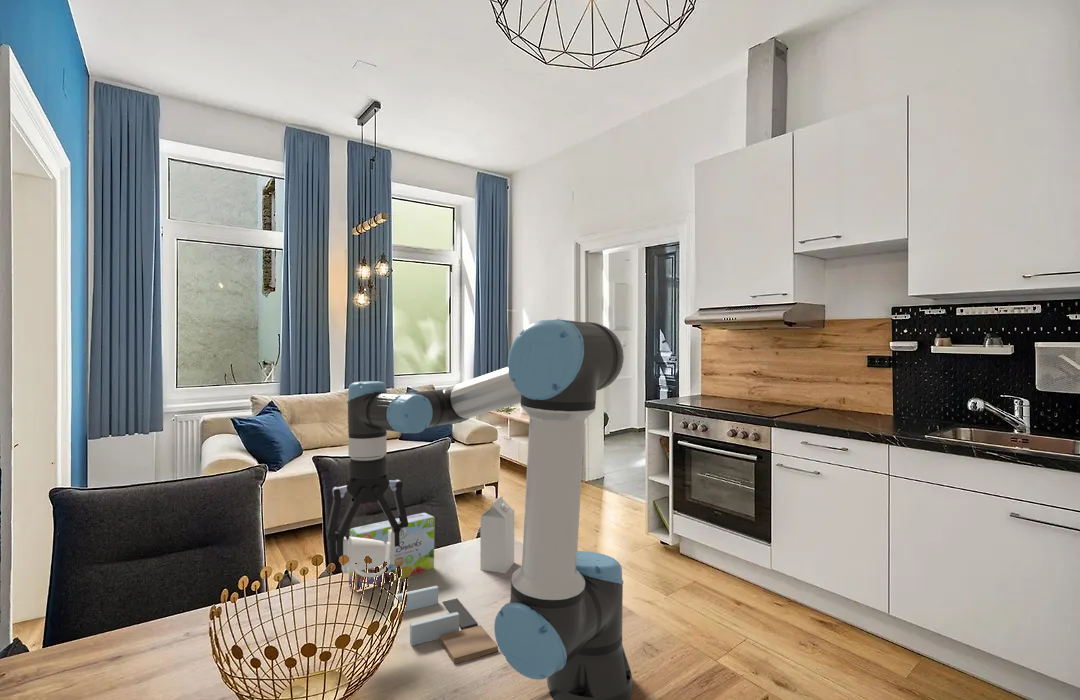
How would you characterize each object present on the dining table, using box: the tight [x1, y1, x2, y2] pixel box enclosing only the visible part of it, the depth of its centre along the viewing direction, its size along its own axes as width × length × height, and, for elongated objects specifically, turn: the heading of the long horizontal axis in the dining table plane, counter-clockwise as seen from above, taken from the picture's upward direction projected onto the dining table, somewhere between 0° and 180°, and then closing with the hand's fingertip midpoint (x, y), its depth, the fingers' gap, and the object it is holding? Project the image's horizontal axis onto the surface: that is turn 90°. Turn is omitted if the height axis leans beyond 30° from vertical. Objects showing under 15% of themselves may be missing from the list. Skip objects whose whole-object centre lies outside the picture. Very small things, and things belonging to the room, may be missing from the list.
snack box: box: [348, 512, 436, 592], centre depth 138 cm, size 21×6×15 cm, turn 132°
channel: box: [392, 585, 460, 647], centre depth 117 cm, size 15×10×4 cm, turn 28°
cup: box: [347, 536, 391, 577], centre depth 110 cm, size 7×10×8 cm
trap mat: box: [442, 598, 479, 630], centre depth 120 cm, size 13×4×1 cm, turn 28°
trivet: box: [438, 624, 499, 665], centre depth 108 cm, size 9×9×1 cm
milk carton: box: [479, 494, 515, 574], centre depth 145 cm, size 7×7×19 cm
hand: (368, 566), depth 111 cm, fingers closed on cup, 9 cm apart
